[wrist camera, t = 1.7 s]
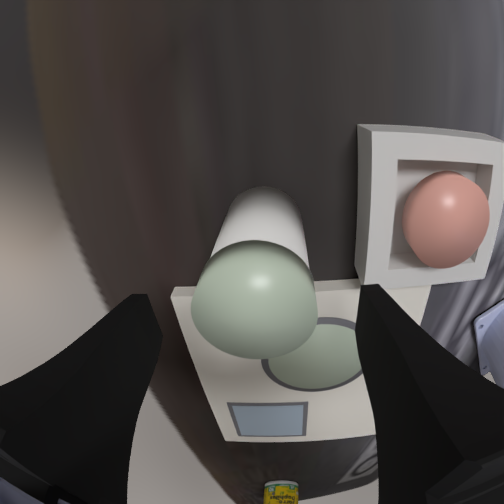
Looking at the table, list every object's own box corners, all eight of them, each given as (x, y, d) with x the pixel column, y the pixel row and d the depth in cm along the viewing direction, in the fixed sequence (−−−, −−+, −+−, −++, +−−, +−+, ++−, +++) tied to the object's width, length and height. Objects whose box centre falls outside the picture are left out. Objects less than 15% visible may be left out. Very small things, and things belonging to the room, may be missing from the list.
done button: (468, 253, 14) (478, 265, 13) (396, 258, 14) (404, 272, 13) (483, 172, 11) (496, 180, 10) (405, 169, 12) (416, 177, 11)
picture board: (375, 426, 27) (376, 435, 26) (226, 433, 29) (225, 441, 28) (426, 273, 17) (432, 283, 16) (174, 286, 19) (169, 298, 18)
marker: (318, 231, 16) (339, 330, 10) (255, 267, 18) (241, 371, 12) (274, 168, 15) (270, 239, 8) (209, 212, 16) (165, 302, 10)
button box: (466, 256, 16) (484, 278, 14) (354, 264, 17) (363, 290, 15) (484, 133, 12) (510, 144, 10) (357, 124, 13) (371, 131, 11)
